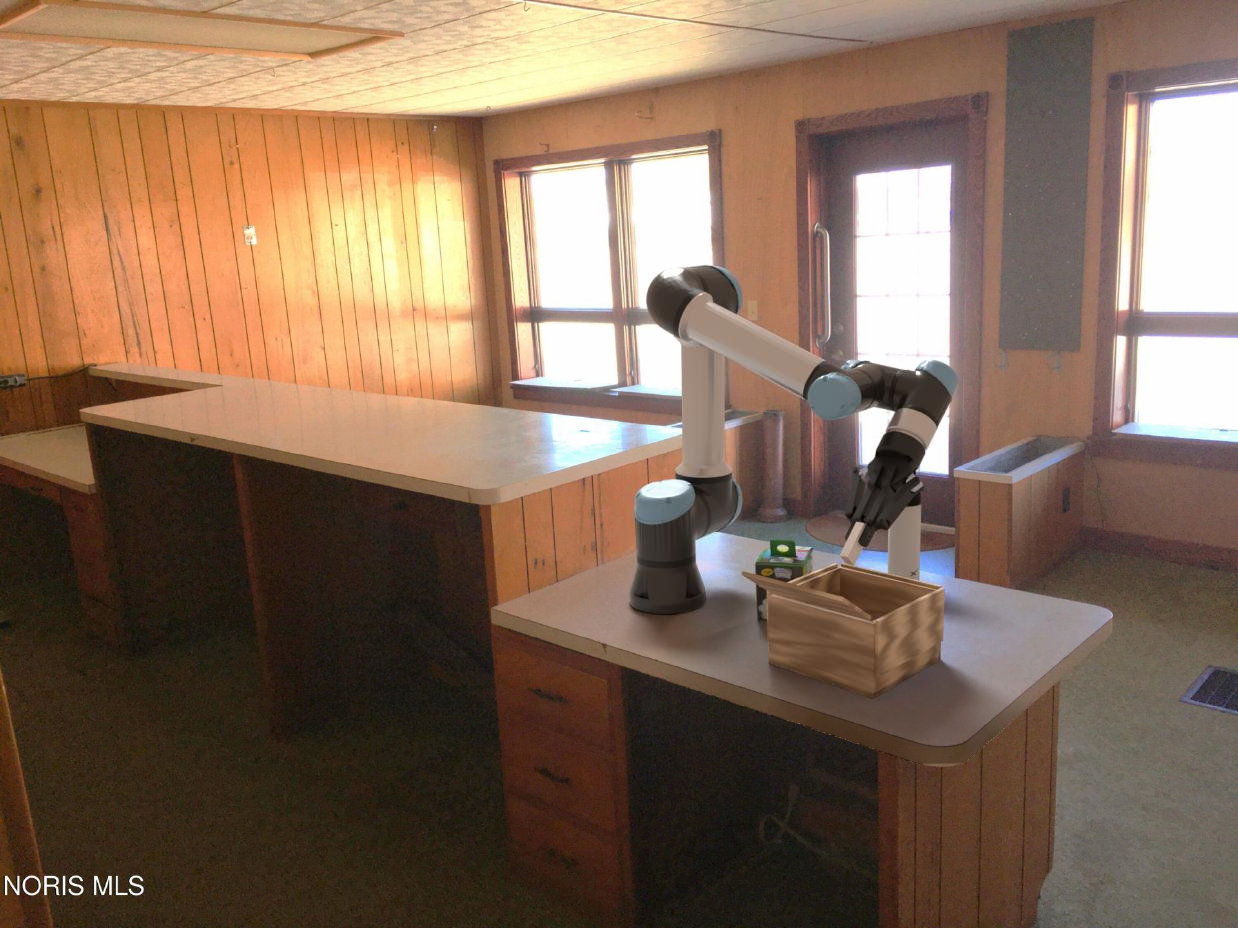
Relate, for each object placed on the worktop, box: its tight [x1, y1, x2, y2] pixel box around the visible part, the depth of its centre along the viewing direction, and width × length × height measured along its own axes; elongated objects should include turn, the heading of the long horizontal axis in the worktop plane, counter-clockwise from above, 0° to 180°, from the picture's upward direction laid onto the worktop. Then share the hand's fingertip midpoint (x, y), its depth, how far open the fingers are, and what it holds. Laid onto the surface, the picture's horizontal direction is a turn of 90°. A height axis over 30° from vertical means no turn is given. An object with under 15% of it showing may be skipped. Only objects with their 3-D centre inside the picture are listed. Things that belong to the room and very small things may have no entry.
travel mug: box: [887, 487, 924, 580], centre depth 201 cm, size 6×7×20 cm
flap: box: [740, 570, 872, 620], centre depth 153 cm, size 1×19×9 cm
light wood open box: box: [766, 562, 946, 699], centre depth 164 cm, size 21×21×12 cm
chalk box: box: [754, 539, 811, 621], centre depth 187 cm, size 9×9×15 cm
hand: (846, 560), depth 160 cm, fingers closed
